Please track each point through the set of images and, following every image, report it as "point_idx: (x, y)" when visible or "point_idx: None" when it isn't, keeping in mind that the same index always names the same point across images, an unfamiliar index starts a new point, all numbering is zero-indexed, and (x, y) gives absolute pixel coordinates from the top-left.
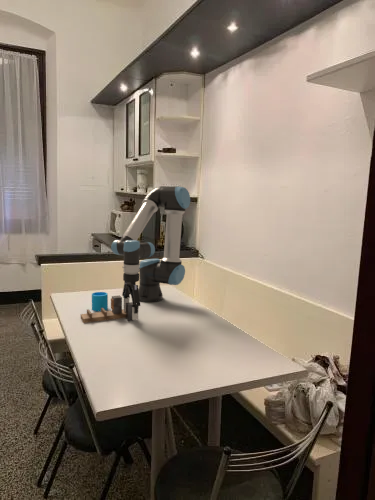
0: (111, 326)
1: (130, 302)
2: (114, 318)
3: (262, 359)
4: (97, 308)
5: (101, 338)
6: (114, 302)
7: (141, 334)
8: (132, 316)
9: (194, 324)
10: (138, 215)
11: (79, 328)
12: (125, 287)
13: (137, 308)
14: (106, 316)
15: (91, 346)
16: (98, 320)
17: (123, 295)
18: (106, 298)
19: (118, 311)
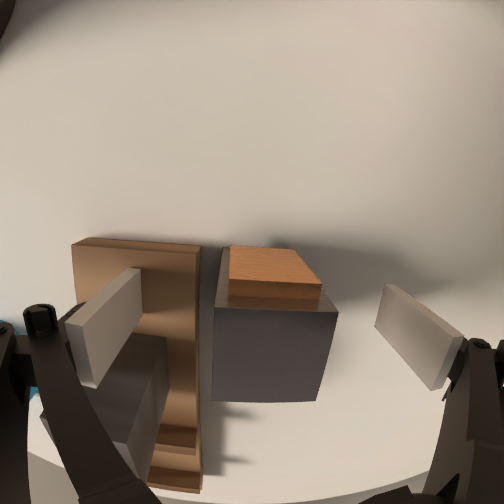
0: (315, 412)
1: (216, 351)
2: (198, 377)
3: None
4: (34, 392)
5: (403, 441)
6: (151, 454)
7: (479, 306)
8: (390, 339)
9: (469, 17)
10: None
11: (262, 488)
12: (23, 499)
13: (464, 343)
14: (197, 427)
15: (425, 454)
16: (200, 441)
17: (27, 379)
18: None
19: (163, 371)
